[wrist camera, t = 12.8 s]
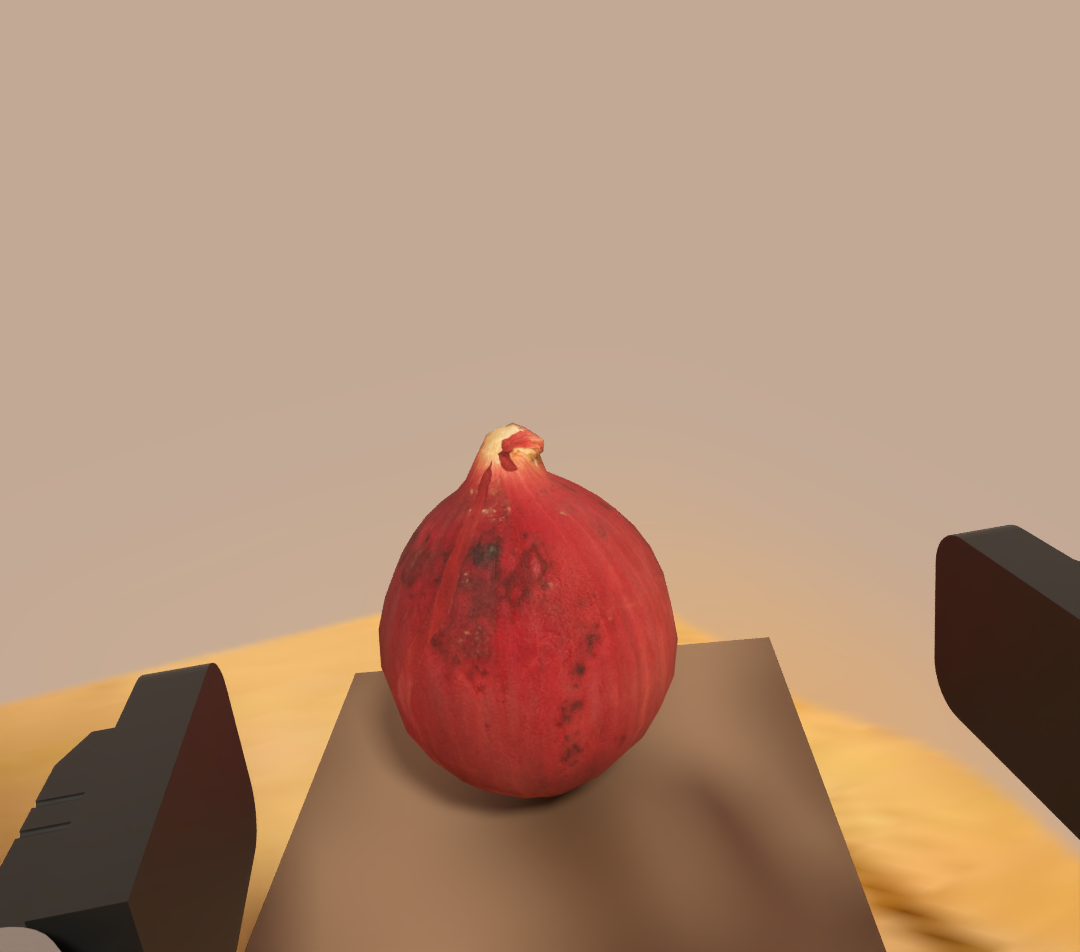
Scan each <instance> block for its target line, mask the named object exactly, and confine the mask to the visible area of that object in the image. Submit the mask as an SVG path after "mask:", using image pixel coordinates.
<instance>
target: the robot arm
mask: <svg viewBox="0 0 1080 952" xmlns="http://www.w3.org/2000/svg"><path fill="white" fill-rule="evenodd" d="M935 584H936V585H935V586H936V587H935V588H936V589H935V669H936V675H937V679H938V682H939V686H940V689H941V692H942V694H943V696H944V698H945V700H946V702H947V704H948V706H949V707H950V709H951V710H952V712H953V713H954V714H955V715H956V716H957V717H958V719H959V720H960V721H961V722H962V723H964V725H965V726H967V728H968V729H969V730H971V732H972V733H973V734H974V735H976V737H977V738H979V740H981V742H982V743H984V744H985V745H986V747H987V748H989V749H990V750H991V752H993V754H995V756H996V757H998V759H999V760H1000V761H1001V762H1002V763H1003V764H1004V765H1006V767H1008V768H1009V770H1010V771H1011V772H1013V774H1015V776H1016V777H1017V778H1018V779H1020V780H1021V782H1022V783H1023V784H1025V786H1026V787H1027V788H1029V789H1030V791H1031V792H1033V794H1034V795H1036V797H1037V798H1038V799H1039V800H1040V801H1041V802H1042V803H1043V804H1044V805H1045V806H1046V807H1047V808H1048V809H1049V810H1050V811H1052V813H1053V814H1054V815H1055V816H1056V817H1057V818H1058V819H1059V820H1060V821H1061V822H1062V823H1063V824H1064V825H1065V826H1066V827H1067V828H1068V829H1069V830H1070V831H1071V832H1072V833H1073V834H1075V836H1076V837H1077V838H1078V839H1079V840H1080V561H1077V560H1074V559H1072V558H1070V557H1069V556H1067V555H1065V554H1064V553H1062V552H1060V551H1059V550H1057V549H1055V548H1053V547H1052V546H1050V545H1049V544H1047V543H1045V542H1044V541H1042V540H1040V539H1039V538H1037V537H1035V536H1034V535H1032V534H1030V533H1029V532H1027V531H1025V530H1024V529H1022V528H1020V527H1018V526H1015V525H1006V526H1000V527H994V528H989V529H983V530H977V531H971V532H966V533H960V534H954V535H949V536H947V537H945V538H944V539H943V540H942V541H941V542H940V544H939V547H938V550H937V555H936V583H935ZM256 833H257V829H256V811H255V802H254V796H253V790H252V786H251V782H250V778H249V774H248V770H247V766H246V762H245V758H244V754H243V751H242V747H241V743H240V739H239V735H238V731H237V727H236V723H235V719H234V716H233V712H232V708H231V704H230V700H229V696H228V692H227V688H226V685H225V681H224V678H223V676H222V673H221V671H220V669H219V668H218V666H217V665H216V664H215V663H209V664H204V665H198V666H192V667H187V668H181V669H175V670H170V671H164V672H158V673H152V674H147V675H142V676H140V677H139V678H138V680H137V682H136V684H135V686H134V688H133V690H132V692H131V695H130V697H129V699H128V701H127V703H126V705H125V707H124V710H123V712H122V714H121V716H120V718H119V720H118V722H117V724H116V727H115V728H110V729H105V730H99V731H94V732H91V733H90V734H89V735H88V736H87V737H86V738H85V739H84V740H82V741H81V742H80V743H79V744H78V745H77V746H76V747H75V748H74V749H73V750H71V751H70V752H69V753H68V754H67V755H66V756H65V757H64V758H63V759H62V760H60V761H59V762H58V763H57V764H56V765H55V766H54V768H53V770H52V772H51V774H50V775H49V777H48V779H47V781H46V783H45V785H44V787H43V788H42V790H41V792H40V794H39V796H38V798H37V800H36V808H32V809H31V811H30V813H29V815H28V816H27V818H26V820H25V822H24V824H23V826H22V828H21V829H20V838H18V839H15V841H14V843H13V844H12V846H11V848H10V850H9V852H8V854H7V856H6V857H5V859H4V861H3V863H2V865H1V867H0V952H236V950H237V945H238V939H239V934H240V929H241V923H242V918H243V913H244V907H245V902H246V897H247V891H248V886H249V881H250V875H251V870H252V865H253V859H254V854H255V848H256Z"/></svg>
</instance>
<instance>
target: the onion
mask: <svg viewBox="0 0 1080 952" xmlns="http://www.w3.org/2000/svg"><path fill="white" fill-rule="evenodd" d="M543 447H544V440H543V439H542V438H540V437H539V436H537V435H536V434H534V433H533V432H531V431H530V430H528V429H526V428H525V427H522V426H520V425H517V424H515V423H511V424H509V425H507V426H506V427H501V428H498V429H496V430H494V431H493V432H491V433H489V434H487V435H486V436H485V439H484V441H483V443H482V445H481V447H480V450H479V452H478V454H477V456H476V458H475V460H474V462H473V465H472V467H471V469H470V471H469V474H468V476H467V478H466V480H465V481H464V483H463V484H462V485H461V486H460V487H459V489H458V490H456V491H455V492H454V493H452V494H451V495H450V496H448V497H447V498H446V499H444V500H443V501H442V502H441V503H439V504H438V505H437V507H435V508H434V509H433V510H432V511H431V512H430V513H429V514H428V515H427V516H426V517H425V519H424V520H423V521H422V523H421V524H420V525H419V527H418V528H417V529H416V531H415V532H414V533H413V535H412V537H411V538H410V540H409V542H408V543H407V545H406V547H405V549H404V550H403V552H402V554H401V557H400V559H399V562H398V564H397V567H396V569H395V572H394V575H393V577H392V580H391V583H390V585H389V588H388V591H387V594H386V596H385V601H384V605H383V610H382V615H381V620H380V626H379V642H380V657H381V667H382V670H383V673H384V675H385V678H386V680H387V683H388V685H389V688H390V690H391V693H392V695H393V698H394V701H395V703H396V706H397V708H398V711H399V713H400V716H401V718H402V721H403V724H404V726H405V729H406V731H407V733H408V734H409V735H410V736H411V738H412V739H413V740H414V741H415V742H416V743H417V744H418V745H419V746H420V747H421V748H422V750H423V751H424V752H425V753H426V754H427V755H428V756H429V757H430V758H431V759H432V760H433V761H434V762H436V763H437V764H438V765H440V766H441V767H443V768H444V769H446V770H447V771H448V772H450V773H451V774H453V775H454V776H456V777H457V778H458V779H460V780H461V781H463V782H465V783H467V784H470V785H472V786H474V787H477V788H479V789H482V790H484V791H487V792H491V793H497V794H503V795H509V796H514V797H520V798H536V797H547V798H548V797H554V796H559V795H562V794H564V793H567V792H569V791H570V790H572V789H574V788H576V787H578V786H580V785H582V784H584V783H586V782H588V781H590V780H592V779H594V778H596V777H598V776H600V775H601V774H602V773H603V772H604V771H605V770H606V769H608V768H609V767H610V766H611V765H612V764H613V763H614V762H615V761H617V760H618V759H619V758H620V757H621V756H622V755H623V754H625V753H626V752H627V751H628V750H629V749H630V748H631V747H633V746H634V745H635V744H636V743H637V742H638V741H639V740H641V739H642V738H643V737H644V735H645V733H646V732H647V730H648V728H649V727H650V725H651V723H652V722H653V720H654V718H655V717H656V715H657V713H658V712H659V710H660V708H661V706H662V703H663V701H664V699H665V696H666V694H667V691H668V689H669V687H670V684H671V682H672V680H673V677H674V673H675V662H676V651H677V639H678V638H677V632H676V627H675V622H674V617H673V612H672V606H671V602H670V598H669V594H668V590H667V586H666V582H665V578H664V574H663V571H662V569H661V567H660V565H659V563H658V561H657V559H656V557H655V555H654V553H653V551H652V549H651V547H650V545H649V544H648V543H647V542H646V541H645V539H644V538H643V537H642V535H641V534H640V533H639V531H638V530H637V529H636V527H635V526H634V525H633V524H632V523H631V522H630V521H628V520H627V519H626V518H625V517H624V516H623V515H621V513H620V512H618V511H617V510H616V509H615V508H614V507H612V506H611V505H609V504H608V503H607V502H606V501H604V500H603V499H602V498H600V497H599V496H597V495H596V494H594V493H592V492H590V491H588V490H587V489H585V488H583V487H581V486H579V485H578V484H575V483H573V482H571V481H569V480H566V479H564V478H562V477H559V476H557V475H554V474H552V473H550V472H547V471H546V469H545V467H544V464H543V462H542V459H541V457H540V453H542V452H543Z"/></svg>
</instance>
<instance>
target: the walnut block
mask: <svg viewBox="0 0 1080 952" xmlns="http://www.w3.org/2000/svg"><path fill="white" fill-rule="evenodd" d="M245 952H886V950H885V947H884V944H883V942H882V939H881V936H880V934H879V931H878V928H877V926H876V923H875V920H874V918H873V915H872V912H871V909H870V907H869V904H868V901H867V899H866V896H865V893H864V891H863V888H862V885H861V883H860V880H859V877H858V875H857V872H856V869H855V867H854V864H853V861H852V859H851V856H850V853H849V850H848V848H847V845H846V842H845V840H844V837H843V834H842V832H841V829H840V826H839V824H838V821H837V818H836V816H835V813H834V810H833V808H832V805H831V802H830V800H829V797H828V794H827V791H826V789H825V786H824V783H823V781H822V778H821V775H820V773H819V770H818V767H817V765H816V762H815V759H814V757H813V754H812V751H811V749H810V746H809V743H808V741H807V738H806V735H805V732H804V730H803V727H802V724H801V722H800V719H799V716H798V714H797V711H796V708H795V706H794V703H793V700H792V698H791V695H790V692H789V690H788V687H787V684H786V682H785V679H784V676H783V673H782V671H781V668H780V666H779V663H778V660H777V657H776V655H775V652H774V649H773V647H772V644H771V641H770V639H769V637H768V638H756V639H745V640H733V641H722V642H710V643H699V644H687V645H677V651H676V662H675V673H674V677H673V680H672V682H671V684H670V687H669V689H668V691H667V694H666V696H665V699H664V701H663V703H662V706H661V708H660V710H659V712H658V713H657V715H656V717H655V718H654V720H653V722H652V723H651V725H650V727H649V728H648V730H647V732H646V733H645V735H644V737H643V738H642V739H641V740H639V741H638V742H637V743H636V744H635V745H634V746H633V747H631V748H630V749H629V750H628V751H627V752H626V753H625V754H623V755H622V756H621V757H620V758H619V759H618V760H617V761H615V762H614V763H613V764H612V765H611V766H610V767H609V768H608V769H606V770H605V771H604V772H603V773H602V774H601V775H600V776H598V777H596V778H594V779H592V780H590V781H588V782H586V783H584V784H582V785H580V786H578V787H576V788H574V789H572V790H570V791H569V792H567V793H564V794H562V795H559V796H554V797H548V798H547V797H536V798H520V797H514V796H509V795H503V794H497V793H491V792H487V791H484V790H482V789H479V788H477V787H474V786H472V785H470V784H467V783H465V782H463V781H461V780H460V779H458V778H457V777H456V776H454V775H453V774H451V773H450V772H448V771H447V770H446V769H444V768H443V767H441V766H440V765H438V764H437V763H436V762H434V761H433V760H432V759H431V758H430V757H429V756H428V755H427V754H426V753H425V752H424V751H423V750H422V748H421V747H420V746H419V745H418V744H417V743H416V742H415V741H414V740H413V739H412V738H411V736H410V735H409V734H408V733H407V731H406V729H405V726H404V724H403V721H402V718H401V716H400V713H399V711H398V708H397V706H396V703H395V701H394V698H393V695H392V693H391V690H390V688H389V685H388V683H387V680H386V678H385V675H384V673H383V671H378V672H366V673H356V674H355V676H354V679H353V681H352V684H351V686H350V689H349V691H348V694H347V696H346V699H345V701H344V704H343V706H342V709H341V711H340V714H339V716H338V719H337V721H336V724H335V726H334V729H333V731H332V734H331V736H330V739H329V741H328V744H327V746H326V749H325V751H324V754H323V757H322V759H321V762H320V764H319V767H318V769H317V772H316V774H315V777H314V779H313V782H312V784H311V787H310V789H309V792H308V794H307V797H306V799H305V802H304V804H303V807H302V809H301V812H300V814H299V817H298V819H297V822H296V824H295V827H294V829H293V832H292V834H291V837H290V839H289V842H288V844H287V847H286V849H285V852H284V854H283V857H282V859H281V862H280V864H279V867H278V869H277V872H276V874H275V877H274V879H273V882H272V884H271V887H270V889H269V892H268V894H267V897H266V899H265V902H264V904H263V907H262V909H261V912H260V914H259V917H258V919H257V922H256V924H255V927H254V929H253V932H252V934H251V937H250V939H249V942H248V944H247V947H246V949H245Z"/></svg>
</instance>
